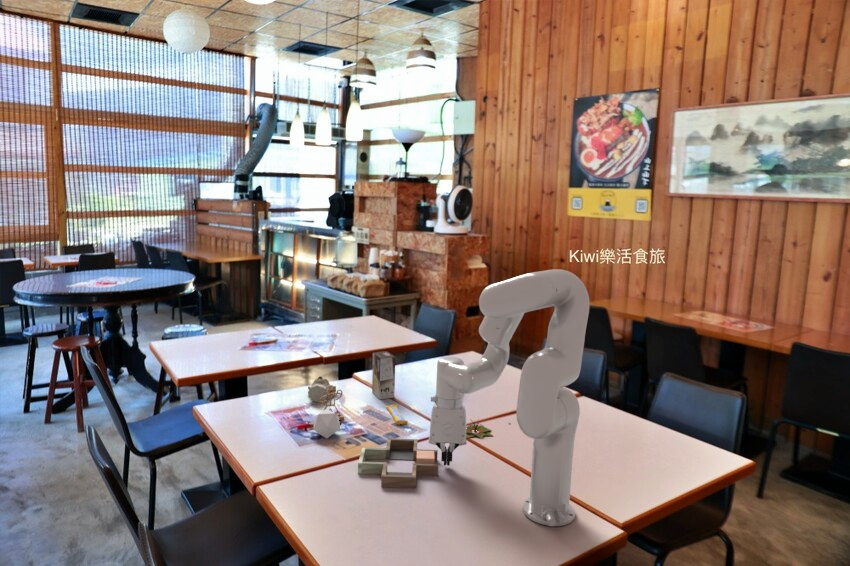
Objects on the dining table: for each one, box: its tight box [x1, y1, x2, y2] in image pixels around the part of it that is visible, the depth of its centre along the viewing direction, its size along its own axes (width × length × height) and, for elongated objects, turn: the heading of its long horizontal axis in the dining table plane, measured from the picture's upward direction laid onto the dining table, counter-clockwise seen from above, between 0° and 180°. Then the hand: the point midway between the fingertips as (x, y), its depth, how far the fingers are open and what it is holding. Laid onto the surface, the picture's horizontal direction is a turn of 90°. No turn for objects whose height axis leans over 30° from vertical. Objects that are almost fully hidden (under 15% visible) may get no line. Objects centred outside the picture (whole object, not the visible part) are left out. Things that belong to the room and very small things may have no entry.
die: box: [312, 408, 341, 439], centre depth 182 cm, size 8×9×10 cm
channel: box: [357, 438, 439, 489], centre depth 163 cm, size 24×22×3 cm
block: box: [415, 450, 435, 464], centre depth 163 cm, size 5×5×4 cm
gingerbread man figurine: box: [318, 384, 345, 421], centre depth 195 cm, size 9×4×12 cm, turn 112°
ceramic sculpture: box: [307, 376, 337, 404], centre depth 216 cm, size 11×9×15 cm
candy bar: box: [385, 404, 408, 426], centre depth 201 cm, size 17×4×2 cm, turn 16°
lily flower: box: [466, 418, 494, 440], centre depth 189 cm, size 12×12×5 cm
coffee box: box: [371, 350, 396, 400], centre depth 220 cm, size 9×6×16 cm
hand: (446, 463), depth 163 cm, fingers closed
